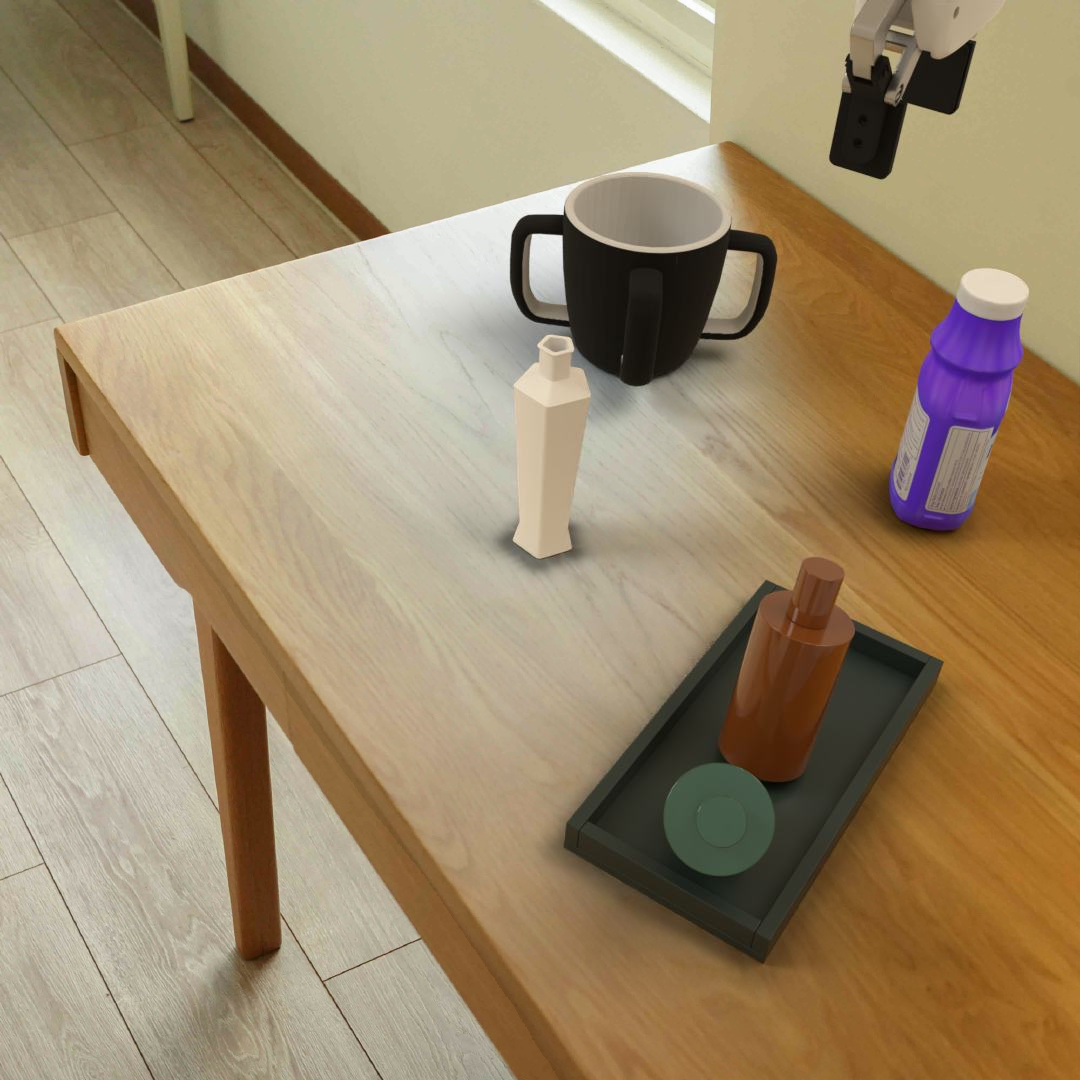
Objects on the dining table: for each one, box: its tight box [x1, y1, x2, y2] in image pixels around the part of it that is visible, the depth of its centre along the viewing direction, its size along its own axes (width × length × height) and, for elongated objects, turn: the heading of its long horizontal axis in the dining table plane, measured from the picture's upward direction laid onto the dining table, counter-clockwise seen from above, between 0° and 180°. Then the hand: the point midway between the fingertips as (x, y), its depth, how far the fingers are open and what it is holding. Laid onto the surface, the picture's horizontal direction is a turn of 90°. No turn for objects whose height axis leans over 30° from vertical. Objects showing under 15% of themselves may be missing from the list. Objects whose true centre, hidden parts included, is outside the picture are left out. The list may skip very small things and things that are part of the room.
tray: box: [563, 579, 945, 965], centre depth 74 cm, size 12×23×2 cm, turn 146°
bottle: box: [888, 267, 1030, 531], centre depth 87 cm, size 7×6×17 cm
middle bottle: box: [718, 556, 855, 782], centre depth 71 cm, size 5×5×12 cm
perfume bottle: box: [512, 334, 592, 560], centre depth 83 cm, size 5×4×15 cm
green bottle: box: [663, 763, 775, 876], centre depth 63 cm, size 5×5×12 cm
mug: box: [509, 171, 778, 387], centre depth 101 cm, size 16×16×12 cm
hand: (895, 137), depth 71 cm, fingers open, 9 cm apart
